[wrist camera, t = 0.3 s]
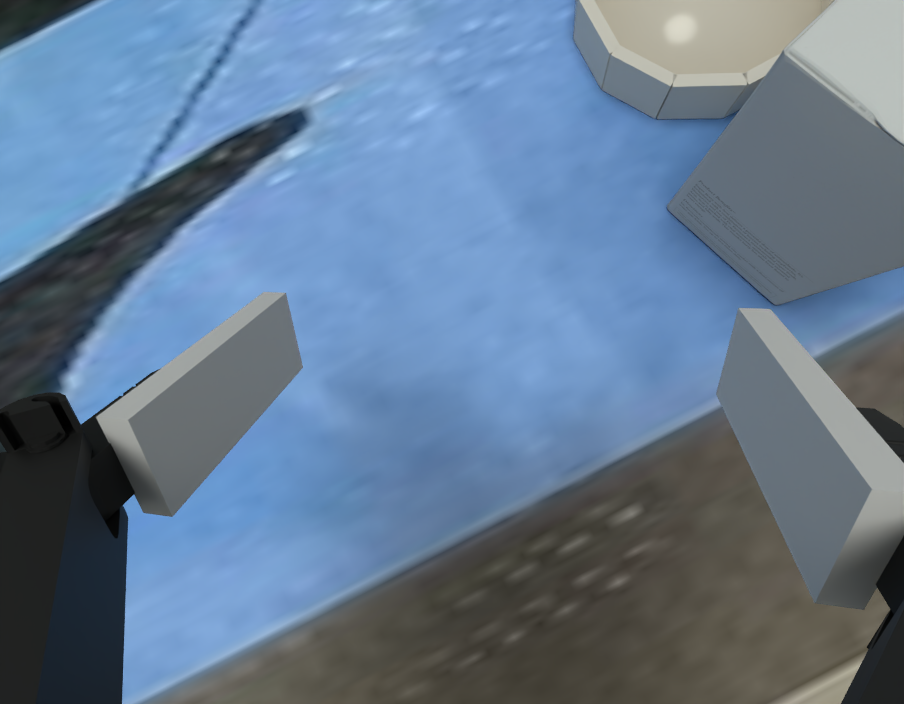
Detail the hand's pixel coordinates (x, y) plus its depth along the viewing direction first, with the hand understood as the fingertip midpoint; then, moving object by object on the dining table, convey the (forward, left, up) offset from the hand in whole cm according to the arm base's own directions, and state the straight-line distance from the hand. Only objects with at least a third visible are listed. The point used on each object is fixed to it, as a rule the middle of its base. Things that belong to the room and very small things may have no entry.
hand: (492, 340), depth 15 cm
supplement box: (+10, -15, -17) cm, 25 cm away
